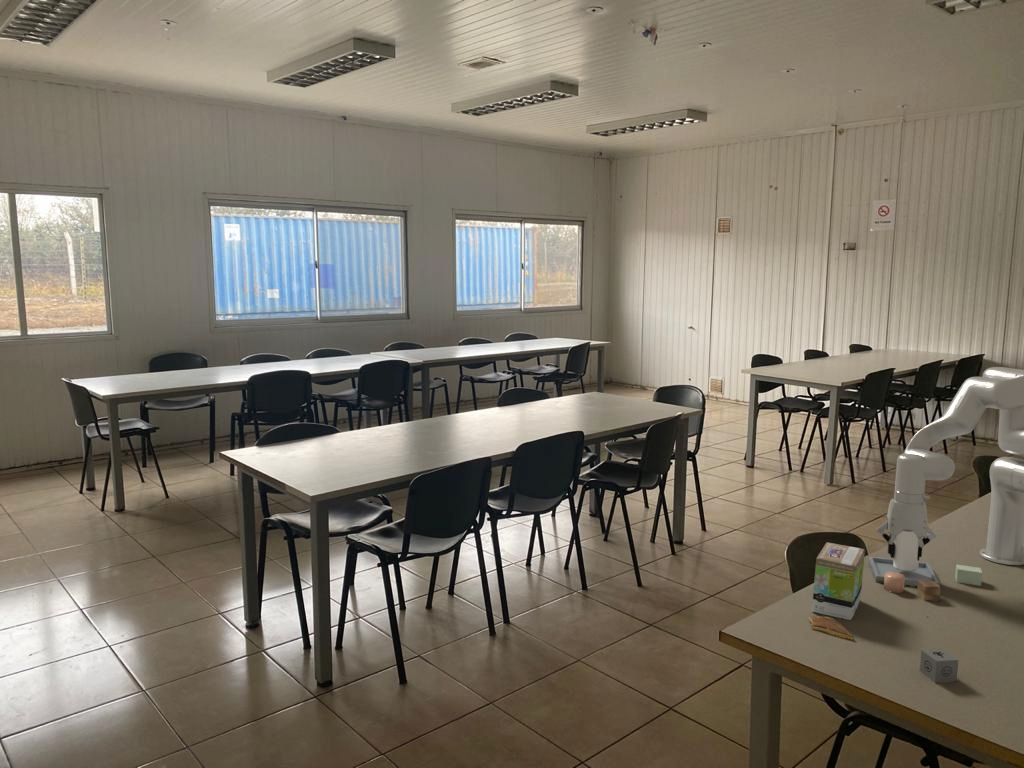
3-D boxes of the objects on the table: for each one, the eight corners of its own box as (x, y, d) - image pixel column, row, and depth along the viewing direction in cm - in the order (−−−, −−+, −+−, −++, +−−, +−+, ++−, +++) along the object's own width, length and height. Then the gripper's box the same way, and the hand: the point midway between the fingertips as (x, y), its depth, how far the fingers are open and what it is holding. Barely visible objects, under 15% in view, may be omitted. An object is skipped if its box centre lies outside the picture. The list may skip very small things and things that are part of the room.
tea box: (852, 621, 191) (856, 565, 189) (810, 612, 197) (814, 557, 195) (861, 600, 204) (865, 547, 202) (821, 592, 209) (825, 540, 207)
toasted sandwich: (854, 643, 181) (854, 636, 181) (822, 643, 181) (823, 636, 181) (833, 622, 192) (834, 615, 192) (803, 623, 192) (804, 616, 192)
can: (911, 563, 224) (912, 523, 223) (922, 571, 218) (923, 531, 216) (889, 564, 224) (889, 524, 223) (899, 572, 218) (900, 531, 216)
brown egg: (894, 583, 214) (895, 570, 214) (908, 591, 210) (909, 578, 209) (879, 586, 213) (880, 573, 212) (893, 594, 208) (894, 580, 208)
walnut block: (932, 595, 208) (933, 581, 207) (939, 601, 204) (940, 587, 203) (917, 594, 208) (918, 580, 208) (923, 600, 204) (925, 586, 204)
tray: (927, 568, 227) (928, 562, 226) (939, 589, 211) (939, 583, 211) (868, 562, 231) (869, 556, 231) (875, 581, 216) (876, 575, 216)
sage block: (979, 581, 218) (980, 567, 217) (980, 586, 214) (982, 572, 214) (955, 577, 220) (956, 564, 220) (956, 582, 217) (957, 569, 216)
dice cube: (940, 670, 168) (942, 648, 168) (956, 681, 163) (958, 659, 163) (919, 671, 168) (921, 649, 167) (934, 683, 163) (936, 661, 162)
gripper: (939, 496, 219) (934, 556, 222) (874, 491, 224) (869, 549, 227) (945, 503, 212) (940, 565, 215) (877, 498, 217) (873, 558, 220)
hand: (904, 557), depth 221 cm, fingers closed on can, 5 cm apart
